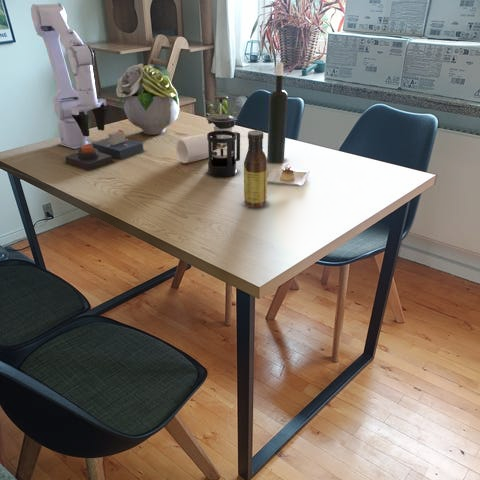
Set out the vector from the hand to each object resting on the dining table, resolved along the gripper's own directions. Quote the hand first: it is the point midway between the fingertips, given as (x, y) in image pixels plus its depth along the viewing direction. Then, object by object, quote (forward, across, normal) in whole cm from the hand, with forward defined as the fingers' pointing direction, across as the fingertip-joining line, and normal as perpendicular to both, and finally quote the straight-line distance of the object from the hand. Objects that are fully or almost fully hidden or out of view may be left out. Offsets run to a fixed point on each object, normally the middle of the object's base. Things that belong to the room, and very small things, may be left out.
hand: (93, 132), depth 164 cm
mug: (+9, +15, -28) cm, 33 cm away
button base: (+9, -4, 0) cm, 10 cm away
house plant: (+9, +37, -28) cm, 47 cm away
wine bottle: (+9, +27, -55) cm, 62 cm away
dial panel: (+9, +10, -1) cm, 13 cm away
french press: (+9, +8, -44) cm, 46 cm away
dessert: (+9, +12, -65) cm, 67 cm away
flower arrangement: (+9, +36, +1) cm, 37 cm away
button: (+5, -4, 0) cm, 7 cm away
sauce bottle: (+9, -11, -64) cm, 66 cm away
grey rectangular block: (+6, +10, -1) cm, 12 cm away
